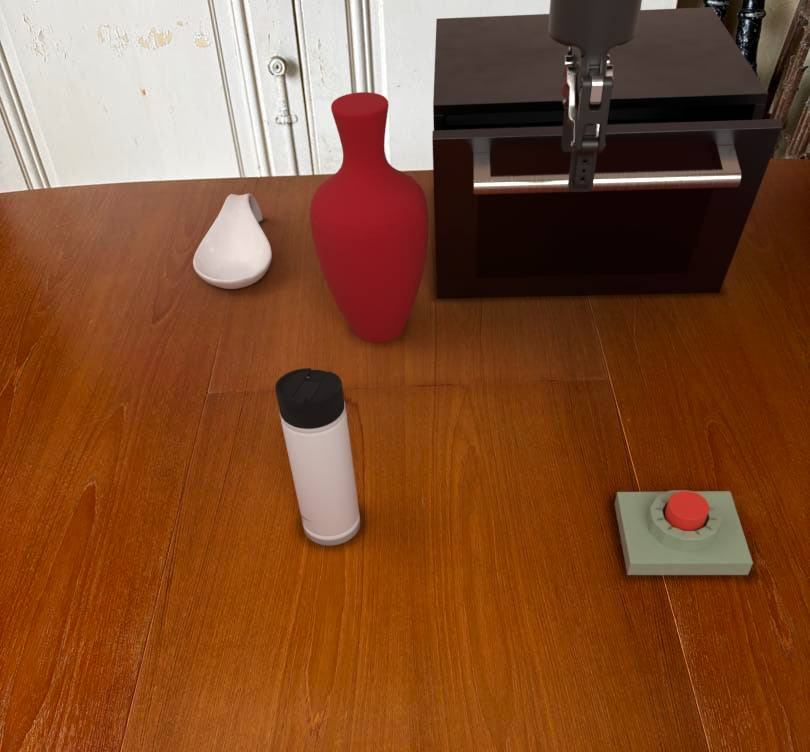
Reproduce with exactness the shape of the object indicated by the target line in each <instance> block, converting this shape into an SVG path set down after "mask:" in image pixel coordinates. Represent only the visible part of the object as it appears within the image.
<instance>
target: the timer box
mask: <svg viewBox="0 0 810 752" xmlns="http://www.w3.org/2000/svg"><path fill="white" fill-rule="evenodd" d="M680 491H690V492H694V493H697V494H699V495H701V496H702V497H704V498H705V499H706V501H707V502H708V504H709V512H708V515H707V518H706V521H705V523H704V525H703V526H702V527H701V528H699V529H697V530H693V531H684V530H680V529H678V528H675V527H673V526H672V525H671V524H670V523H669V522H668V521H667V519H666V517H665V511H666V507H667V504H668V500H669V498H670V497H671V496H672V495H673V494H674V493H677V492H680ZM614 508H615V516H616V520H617V526H618V531H619V537H620V543H621V547H622V554H623V558H624V564H625V570H626V575H628V576H749V573H750V570H751V569H752V567H753V564H754V562H753V559H752V555H751V552H750V549H749V546H748V542H747V540H746V536H745V534H744V530H743V527H742V524H741V521H740V517H739V513H738V511H737V508H736V504H735V501H734V497H733V496H732V492H731V491H730V490H723V491H722V490H720V491H719V490H716V491H715V490H712V491H711V490H709V491H707V490H706V491H705V490H703V491H702V490H701V491H700V490H699V491H696V490H695V491H693V490H689V489H677V490H675V489H673V490H668V491H616V495H615V500H614Z"/></svg>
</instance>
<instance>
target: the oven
mask: <svg viewBox="0 0 810 752" xmlns="http://www.w3.org/2000/svg"><path fill="white" fill-rule="evenodd" d="M435 19H436V20H435V21H436V22H435V48H434V73H433V74H434V76H433V101H432V114H433V116H432V117H433V118H432V119H433V131H438V130H468V129H498V128H527V127H557V126H563V121H564V112H565V111H567V109H564V108H563V105H562V101H563V99H564V96H563V95H562V79H563V61H564V56H566V53H567V46H565V45H562V44H560V43H558V42H556V41H555V40H553V39H552V38H551V36H550V35H549V32H548V24H549V13H538V14H516V15H492V16H491V15H489V16H488V15H487V16H468V17H467V16H466V17H465V16H464V17H442V18H435ZM607 55H610V63H609V65H613V81H614V84H613V88H612V91H611V99H610V106H609V114H608V121H607V125H617V124H646V123H676V122H706V121H735V120H763V119H762V118H763V115H764V111H765V107H766V104H767V99H768V97H769V92H768V90H767V88H765V86H764V84H763V83H762V81H761V80H760V78H759V77H758V75H757V74H756V72H755V70H754V69H753V67H752V66H751V65H750V63H749V62H748V60H747V58H746V57H745V56H744V54H743V52H742V50H741V49H740V47H739V46H738V45H737V43H736V42H735V40H734V38H733V37H732V35H731V34H730V32H729V31H728V29H727V28H726V26H725V25H724V23H723V21H722V20H721V18H720V17H719V15H718V14H717V13H716V11H715V9H714V8H713V6H705V7H703V6H702V7H681V8H659V9H658V8H657V9H655V8H654V9H641V10H640V16H639V23H638V29H637V33H636V35H635V36H634V38H633V39H632V40H630V41H629V42H627V43H625V44H623V45H620V46H619V45H617V46H615V47H613V48H611V49H610V50H609V51H608V54H607ZM587 125H593V124H587Z"/></svg>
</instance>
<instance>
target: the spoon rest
mask: <svg viewBox="0 0 810 752" xmlns="http://www.w3.org/2000/svg"><path fill="white" fill-rule="evenodd" d="M263 220H264V219H263V214H262V211H261V207H260V206H259V204H258V202H257V200H256V199H255V197H254V195H253V194H252V193H249V192H247V193H245V194H234V193H230V194H229V195H227V196H226V199H225V201H224V203H223V205H222V208H221V209H220V211H219V213H218V215H217V216H216V218H215V220H214V222H213V223H212V225H211V227H210V228H209V230H208V231H207V232H206V234H205V235H204V237H203V239H202V240H201V242H200V243H199V245H198V247H197V249H196V251H195V253H194V256H193V259H192V266H193V270H194V271H195V273H196V274H197V275H198V276H199V277H200V278H201V279H202V280H203V281H205V282H206V283H208V284H210V285H211V286H214V287H217V288H221V289H226V290H227V289H228V290H236V289H237V290H238V289H243V288H246V287H248V286H252V285H253V284H255V283H257V282H259V281H260V280H261V279H262V278H263V277H264V276H265V274H266V273H267V272H268V270H269V268H270V265H271V262H272V258H273V252H272V251H273V250H272V247H271V243H270V242H269V239H268V237H267V236H266V234H265V232H264V230H263V228H262V227H261V225H260V222H262V221H263Z"/></svg>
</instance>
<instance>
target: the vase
mask: <svg viewBox="0 0 810 752" xmlns="http://www.w3.org/2000/svg"><path fill="white" fill-rule="evenodd" d="M330 111H331V114H332V116H333V120H334V124H335V126H336V130H337V133H338V136H339V140H340V144H341V150H342V163H341V166H340V167H339V169H338V170H337V171H336V172H335V173H334V174H333V175H331V176H330V177H328V178H327V179H326V180H325V181H323V182H322V183H320V185H319V186H318V187H317V188H316V191H315V192H314V194H313V196H312V197H311V198H312V199H311V202H310V209H309V219H310V220H309V221H310V230H311V231H310V232H311V236H312V240H313V241H312V242H313V246H314V249H315V253H316V256H317V259H318V263H319V265H320V268H321V271H322V274H323V277H324V279H325V282H326V285H327V287H328V289H329V292H330V294H331V296H332V298H333V301H334V302H335V304H336V306H337V307H338V310H339V311H340V313H341V314H342V316H343V318H344V320H345V321H346V322H347V324H348V326H349V327H350V328H351V330H352V332H353V333H354V335H355V336H356V337H357V338H358V339H360V340H362V341H364V342H367V343H372V344H379V343H386V342H390V341H392V340H394V339H397V337H399V336H400V335H401V334H402V333H403V331H404V329H405V326H406V324H407V322H408V320H409V317H410V315H411V312H412V310H413V307H414V305H415V302H416V299H417V296H418V293H419V290H420V287H421V282H422V278H423V273H424V268H425V265H426V264H425V263H426V258H427V251H428V243H429V242H428V240H429V226H430V225H429V221H430V219H429V209H428V208H429V207H428V200H427V197H426V195H425V192H424V190H423V188H422V187H421V185H420V184H419V183H418V181H417V180H416V179H414V178H413V177H412V176H410V175H408V174H407V173H405V172H403V171H402V170H399V169H397V168H395V167H393V166H392V165H391V164H390V162H389V161H388V160H387V156H386V155H387V154H386V152H385V137H386V129H387V120H388V112H389V100H388V99H387V97H386V96H384V95H382V94H379V93H375V92H368V91H361V92H352V93H347V94H344V95H341V96H339V97H337V98H335V99H334V100H333V101H332V103H331V105H330Z"/></svg>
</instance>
